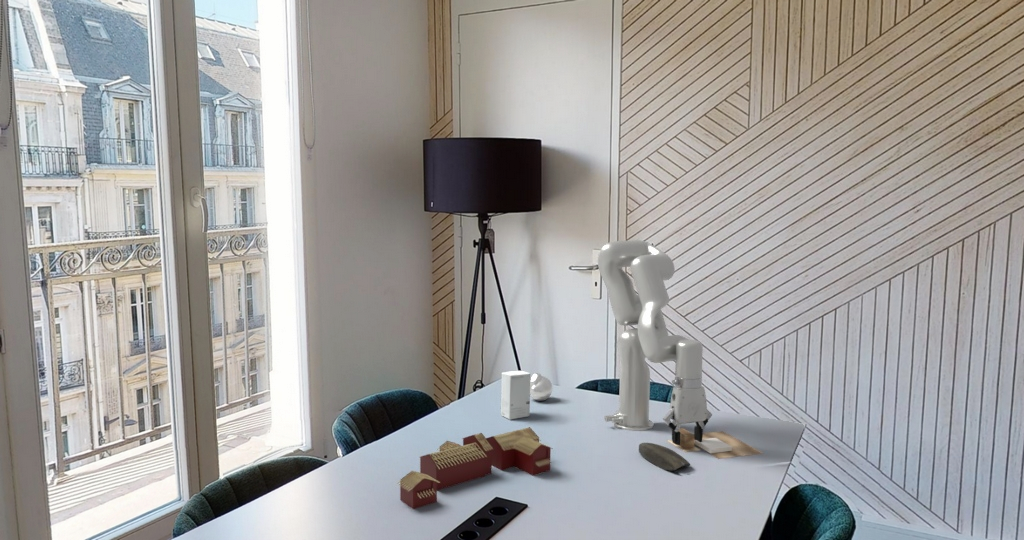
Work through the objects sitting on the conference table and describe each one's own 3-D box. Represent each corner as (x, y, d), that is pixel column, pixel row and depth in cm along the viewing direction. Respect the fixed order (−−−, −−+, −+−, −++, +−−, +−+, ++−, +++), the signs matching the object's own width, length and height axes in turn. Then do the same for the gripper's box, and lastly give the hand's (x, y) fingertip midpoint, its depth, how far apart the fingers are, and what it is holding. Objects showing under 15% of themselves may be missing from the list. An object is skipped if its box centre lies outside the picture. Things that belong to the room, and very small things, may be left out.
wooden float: (685, 455, 204) (685, 438, 203) (667, 443, 213) (667, 427, 213) (700, 453, 205) (701, 436, 205) (681, 441, 215) (682, 425, 214)
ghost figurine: (527, 396, 261) (527, 369, 260) (552, 397, 260) (553, 370, 259) (525, 403, 252) (525, 375, 251) (551, 404, 251) (552, 376, 250)
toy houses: (514, 449, 207) (514, 415, 206) (561, 471, 191) (562, 434, 190) (374, 487, 180) (373, 448, 179) (415, 516, 164) (415, 473, 163)
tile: (694, 444, 210) (710, 454, 202) (695, 440, 209) (710, 449, 202) (715, 442, 212) (731, 451, 204) (715, 437, 212) (731, 446, 204)
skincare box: (509, 420, 233) (509, 375, 232) (499, 415, 238) (500, 372, 237) (530, 416, 238) (531, 372, 236) (520, 411, 243) (521, 368, 241)
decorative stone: (693, 471, 191) (693, 456, 191) (675, 476, 188) (676, 461, 187) (649, 452, 206) (650, 438, 205) (632, 456, 202) (633, 441, 202)
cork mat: (718, 460, 199) (718, 458, 199) (680, 437, 218) (680, 435, 217) (763, 455, 203) (763, 453, 203) (722, 432, 222) (722, 431, 222)
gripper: (669, 388, 200) (668, 449, 202) (721, 383, 206) (720, 443, 208) (655, 382, 207) (654, 441, 209) (706, 377, 213) (705, 435, 215)
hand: (687, 441), depth 208 cm, fingers open, 6 cm apart
